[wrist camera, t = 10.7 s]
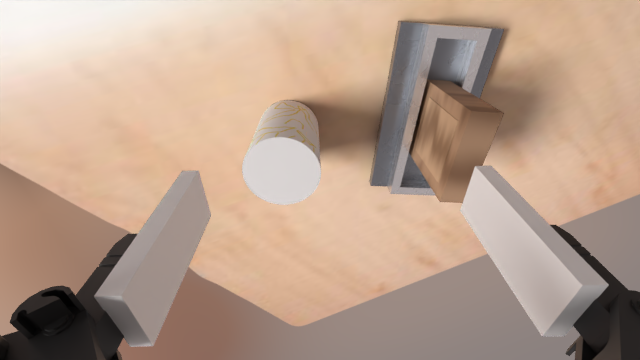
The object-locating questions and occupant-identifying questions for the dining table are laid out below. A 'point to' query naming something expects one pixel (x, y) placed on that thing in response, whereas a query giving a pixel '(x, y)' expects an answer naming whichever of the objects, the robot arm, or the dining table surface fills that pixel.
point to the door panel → (452, 137)
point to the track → (408, 87)
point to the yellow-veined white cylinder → (284, 154)
